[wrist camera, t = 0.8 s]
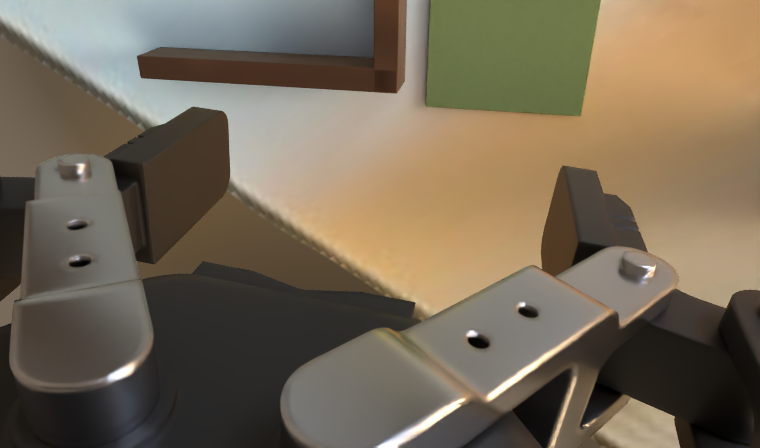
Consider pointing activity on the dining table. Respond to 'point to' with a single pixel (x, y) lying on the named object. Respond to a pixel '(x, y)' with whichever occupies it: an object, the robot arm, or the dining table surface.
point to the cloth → (510, 54)
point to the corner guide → (294, 62)
